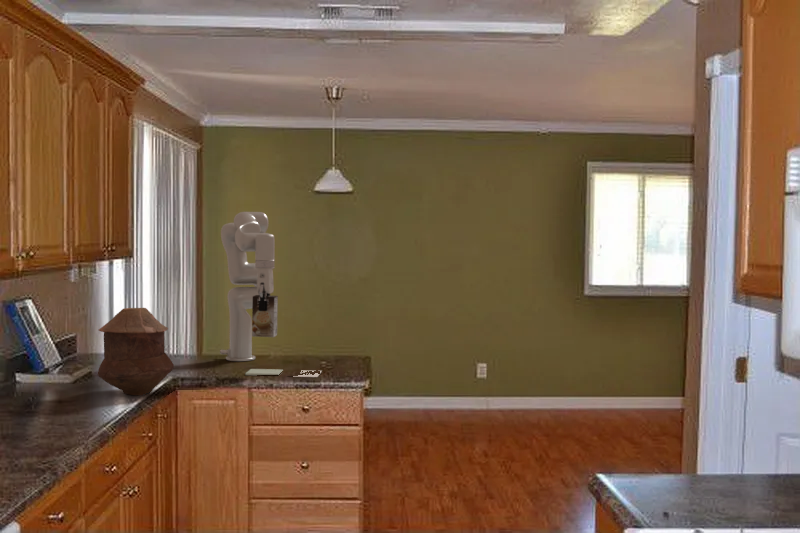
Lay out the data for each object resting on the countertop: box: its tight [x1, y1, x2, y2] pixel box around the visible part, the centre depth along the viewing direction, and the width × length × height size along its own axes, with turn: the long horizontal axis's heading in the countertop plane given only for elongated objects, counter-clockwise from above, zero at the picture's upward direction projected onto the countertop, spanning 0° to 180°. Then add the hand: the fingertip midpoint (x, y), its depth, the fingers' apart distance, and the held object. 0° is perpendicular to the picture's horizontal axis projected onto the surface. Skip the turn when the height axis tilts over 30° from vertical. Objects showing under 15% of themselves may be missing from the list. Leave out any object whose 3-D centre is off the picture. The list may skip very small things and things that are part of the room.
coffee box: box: [251, 294, 279, 338], centre depth 347 cm, size 9×6×16 cm
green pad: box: [245, 368, 284, 376], centre depth 349 cm, size 13×10×1 cm
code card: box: [293, 369, 323, 378], centre depth 349 cm, size 12×14×1 cm
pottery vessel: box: [97, 307, 175, 396], centre depth 307 cm, size 26×26×30 cm
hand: (264, 309), depth 347 cm, fingers closed on coffee box, 6 cm apart
